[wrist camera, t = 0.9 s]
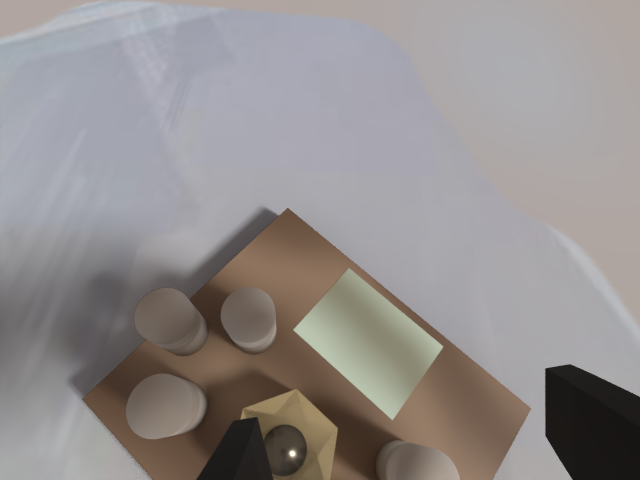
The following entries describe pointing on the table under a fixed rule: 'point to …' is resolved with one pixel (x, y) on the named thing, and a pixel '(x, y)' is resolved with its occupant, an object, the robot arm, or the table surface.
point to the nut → (295, 437)
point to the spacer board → (304, 369)
